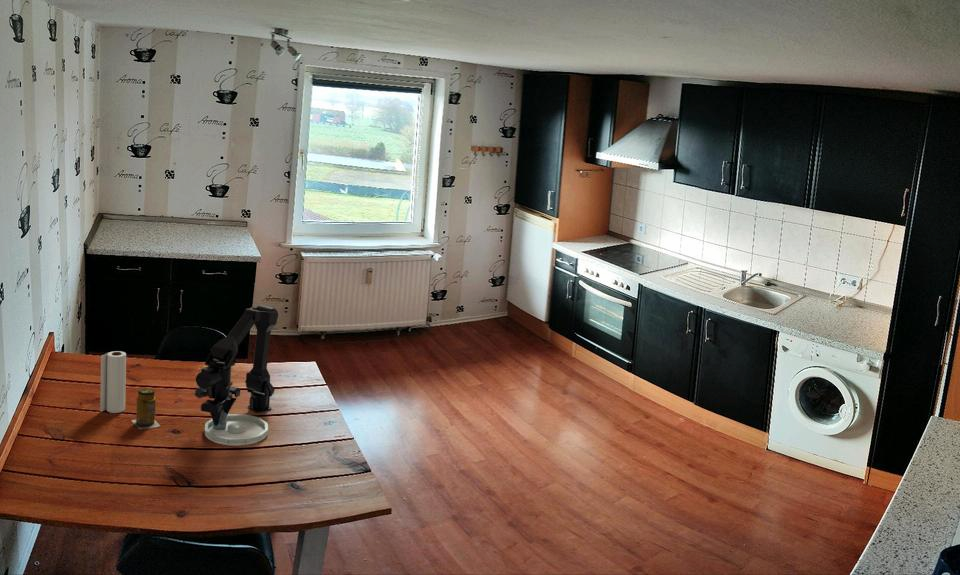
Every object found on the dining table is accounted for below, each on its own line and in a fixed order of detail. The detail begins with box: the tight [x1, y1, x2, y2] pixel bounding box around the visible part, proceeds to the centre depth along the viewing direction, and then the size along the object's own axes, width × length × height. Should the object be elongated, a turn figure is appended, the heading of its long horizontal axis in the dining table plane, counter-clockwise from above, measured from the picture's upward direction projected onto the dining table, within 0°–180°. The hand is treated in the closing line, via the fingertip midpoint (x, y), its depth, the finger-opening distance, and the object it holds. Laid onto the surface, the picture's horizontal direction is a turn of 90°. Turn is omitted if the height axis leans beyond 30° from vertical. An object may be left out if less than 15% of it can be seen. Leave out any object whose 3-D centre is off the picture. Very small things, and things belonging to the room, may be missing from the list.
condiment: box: [131, 387, 161, 430], centre depth 287 cm, size 7×8×12 cm
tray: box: [204, 413, 269, 447], centre depth 290 cm, size 21×21×2 cm
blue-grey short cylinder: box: [213, 412, 227, 430], centre depth 290 cm, size 4×4×5 cm
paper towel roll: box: [99, 350, 127, 414], centre depth 293 cm, size 7×6×21 cm
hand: (219, 422), depth 290 cm, fingers open, 6 cm apart
